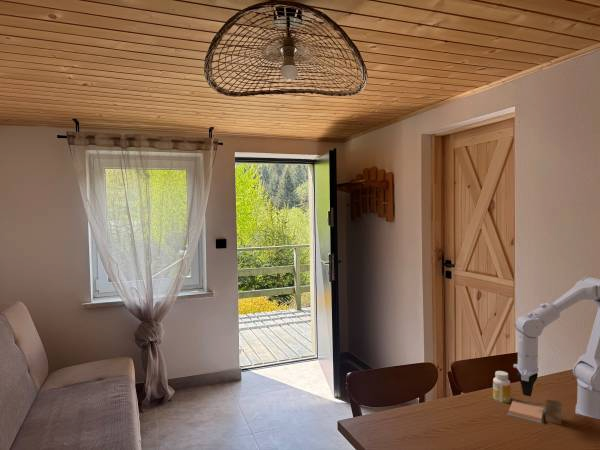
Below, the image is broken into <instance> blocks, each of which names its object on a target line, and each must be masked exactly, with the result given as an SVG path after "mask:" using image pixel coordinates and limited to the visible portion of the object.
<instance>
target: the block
mask: <svg viewBox="0 0 600 450" xmlns="http://www.w3.org/2000/svg"><path fill="white" fill-rule="evenodd" d="M562 403H563V402H560V401H556V400H551V399H546V402H545V407H546V412H545V422H547V423H551V424H554V425H559V426H562V416H563V414H562V411H563V409H562V407H563V405H562Z"/></svg>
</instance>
